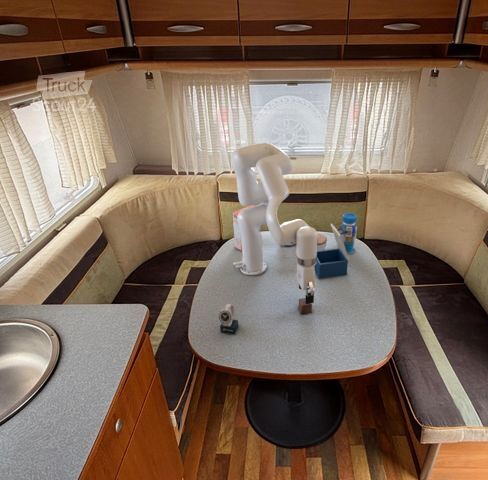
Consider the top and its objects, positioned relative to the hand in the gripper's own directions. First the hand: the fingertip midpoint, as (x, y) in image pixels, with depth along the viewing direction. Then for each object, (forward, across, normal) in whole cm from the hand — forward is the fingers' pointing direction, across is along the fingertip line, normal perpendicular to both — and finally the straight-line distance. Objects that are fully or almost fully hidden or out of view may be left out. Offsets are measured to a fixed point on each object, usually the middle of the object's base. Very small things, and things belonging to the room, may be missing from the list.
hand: (306, 295), depth 142 cm
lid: (-7, -25, +23) cm, 35 cm away
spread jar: (+7, -57, +7) cm, 57 cm away
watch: (+8, +3, -31) cm, 32 cm away
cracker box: (+7, -58, -16) cm, 61 cm away
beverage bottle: (+7, -41, +34) cm, 53 cm away
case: (+7, -26, +19) cm, 33 cm away
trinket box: (+7, -44, +18) cm, 48 cm away
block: (+8, -1, 0) cm, 8 cm away
